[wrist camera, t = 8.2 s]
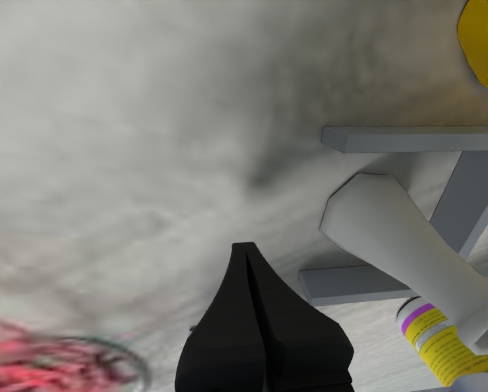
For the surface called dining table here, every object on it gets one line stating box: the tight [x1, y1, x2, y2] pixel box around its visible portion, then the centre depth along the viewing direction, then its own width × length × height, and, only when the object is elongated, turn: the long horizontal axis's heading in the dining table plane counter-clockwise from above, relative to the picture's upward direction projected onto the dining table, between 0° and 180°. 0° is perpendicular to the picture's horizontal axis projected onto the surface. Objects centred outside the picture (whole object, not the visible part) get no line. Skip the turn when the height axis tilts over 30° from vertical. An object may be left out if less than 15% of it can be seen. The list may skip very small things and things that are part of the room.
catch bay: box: [298, 126, 488, 306], centre depth 16 cm, size 14×12×3 cm
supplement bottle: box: [397, 296, 488, 387], centre depth 19 cm, size 7×7×13 cm
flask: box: [320, 174, 488, 355], centre depth 13 cm, size 7×7×10 cm
